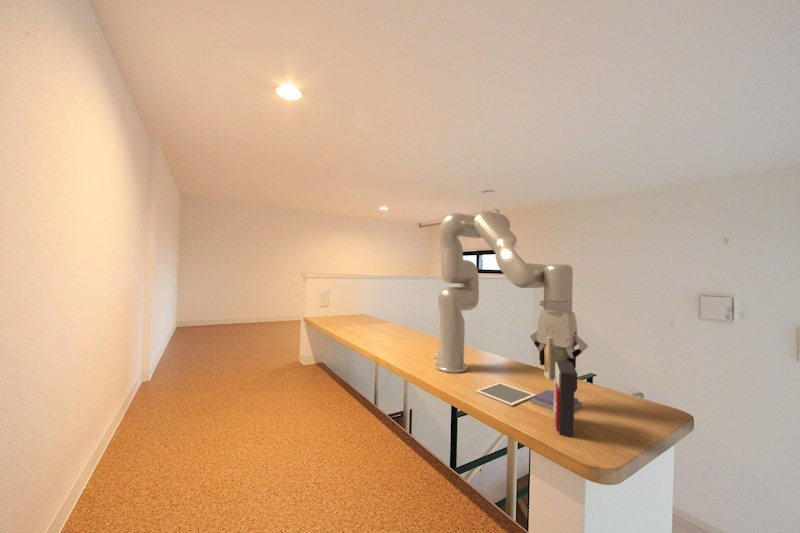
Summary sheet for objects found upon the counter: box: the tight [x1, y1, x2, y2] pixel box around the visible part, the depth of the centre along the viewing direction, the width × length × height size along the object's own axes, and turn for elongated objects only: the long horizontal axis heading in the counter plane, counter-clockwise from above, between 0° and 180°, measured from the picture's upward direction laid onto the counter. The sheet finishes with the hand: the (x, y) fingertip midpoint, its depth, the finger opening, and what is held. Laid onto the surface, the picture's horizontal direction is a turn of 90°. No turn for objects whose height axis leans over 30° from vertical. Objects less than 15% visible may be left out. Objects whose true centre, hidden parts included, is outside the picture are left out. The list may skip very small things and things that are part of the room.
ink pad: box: [529, 389, 582, 412], centre depth 94 cm, size 10×10×2 cm
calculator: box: [553, 360, 578, 438], centre depth 81 cm, size 11×4×15 cm, turn 159°
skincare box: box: [543, 337, 569, 381], centre depth 94 cm, size 6×4×12 cm
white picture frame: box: [475, 382, 537, 407], centre depth 101 cm, size 13×13×1 cm
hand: (556, 367), depth 94 cm, fingers closed on skincare box, 7 cm apart
